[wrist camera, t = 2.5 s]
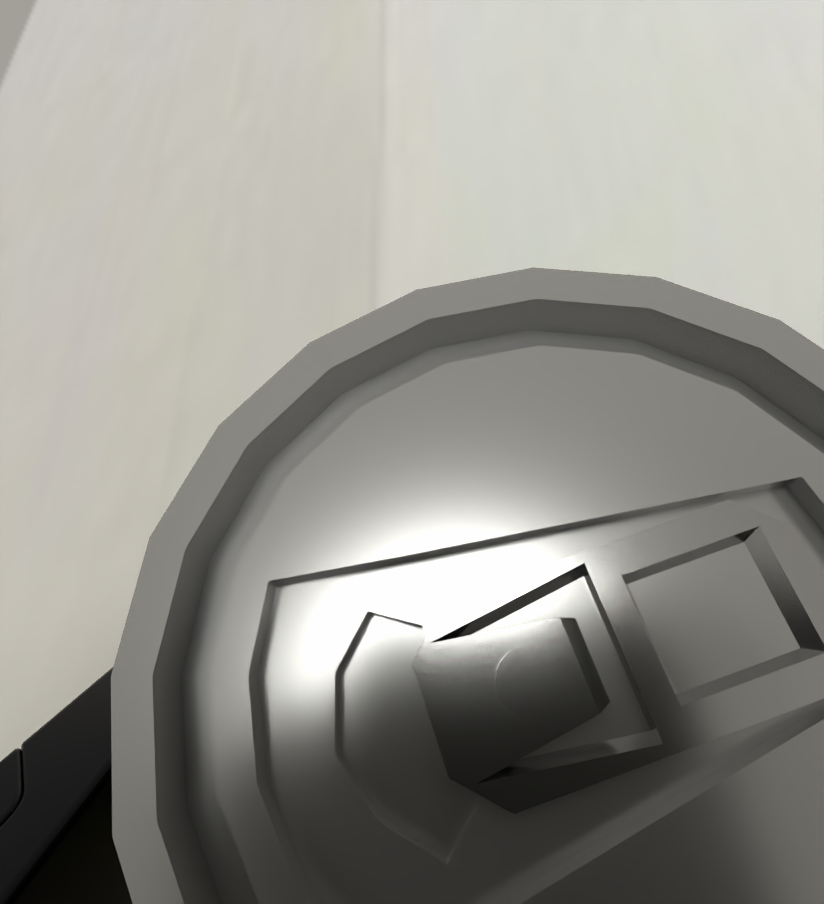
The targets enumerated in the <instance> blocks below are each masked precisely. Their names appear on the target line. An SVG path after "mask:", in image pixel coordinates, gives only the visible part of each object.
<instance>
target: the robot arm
mask: <svg viewBox="0 0 824 904" xmlns="http://www.w3.org/2000/svg"><path fill="white" fill-rule="evenodd" d="M112 671H113V668H111V669H110V670H109V671H108V672H107V673H105V674H104V675H103V676H102V677H101V678H100V679H98V680H97V681H96V682H95V683H94V684H92V685H91V686H90V687H89V688H88V689H86V690H85V691H84V692H83V693H82V694H81V695H79V696H78V697H77V698H76V699H75V700H73V701H72V702H71V703H70V704H69V705H67V706H66V707H65V708H64V709H63V710H61V711H60V712H59V713H58V714H57V715H56V716H54V717H53V718H52V719H51V720H50V721H48V722H47V723H46V724H45V725H44V726H42V727H41V728H40V729H39V730H38V731H37V732H35V733H34V734H33V735H32V736H31V737H29V738H28V739H27V740H26V741H25V742H24V743H23V744H22V746H21V749H22V750H21V749H15V750H14V751H12V752H11V753H10V754H9V755H8V756H7V757H5V758H4V759H3V760H2V761H1V762H0V904H133V903H132V900H131V897H130V893H129V890H128V887H127V883H126V880H125V877H124V874H123V870H122V867H121V864H120V861H119V857H118V854H117V851H116V847H115V844H114V841H113V838H112V751H111V674H112Z"/></svg>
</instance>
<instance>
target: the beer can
mask: <svg viewBox="0 0 824 904" xmlns="http://www.w3.org/2000/svg"><path fill="white" fill-rule="evenodd" d="M111 751H112V838H113V841H114V844H115V847H116V851H117V854H118V857H119V861H120V864H121V867H122V870H123V874H124V877H125V880H126V883H127V887H128V890H129V893H130V897H131V900H132V903H133V904H824V349H822V348H821V347H819V346H818V345H816V344H815V343H813V342H812V341H810V340H809V339H807V338H806V337H804V336H803V335H801V334H800V333H798V332H797V331H795V330H794V329H792V328H791V327H789V326H788V325H786V324H785V323H783V322H782V321H780V320H778V319H775V318H772V317H769V316H766V315H763V314H760V313H758V312H755V311H752V310H749V309H746V308H743V307H740V306H737V305H735V304H732V303H729V302H726V301H723V300H720V299H717V298H714V297H712V296H709V295H706V294H703V293H700V292H697V291H694V290H691V289H689V288H686V287H683V286H680V285H677V284H674V283H671V282H668V281H666V280H663V279H660V278H657V277H647V276H634V275H621V274H608V273H595V272H583V271H570V270H557V269H544V268H529V269H524V270H518V271H513V272H508V273H503V274H497V275H492V276H487V277H482V278H476V279H471V280H466V281H461V282H455V283H450V284H445V285H439V286H434V287H429V288H424V289H418V290H415V291H413V292H411V293H409V294H407V295H405V296H403V297H401V298H399V299H397V300H395V301H393V302H391V303H389V304H387V305H385V306H383V307H381V308H379V309H377V310H375V311H373V312H371V313H369V314H367V315H365V316H363V317H361V318H359V319H357V320H355V321H353V322H351V323H349V324H347V325H345V326H342V327H340V328H338V329H336V330H334V331H332V332H330V333H328V334H326V335H324V336H322V337H320V338H318V339H316V340H314V341H312V342H310V343H309V344H308V345H307V346H306V347H304V348H303V349H302V350H301V351H300V352H299V353H298V354H297V355H296V356H295V357H294V358H292V359H291V360H290V361H289V362H288V363H287V364H286V365H285V366H284V367H283V368H281V369H280V370H279V371H278V372H277V373H276V374H275V375H274V376H273V377H272V378H270V379H269V380H268V381H267V382H266V383H265V384H264V385H263V386H262V387H261V388H259V389H258V390H257V391H256V392H255V393H254V394H253V395H252V396H251V397H250V398H248V399H247V400H246V401H245V402H244V403H243V404H242V405H241V406H240V407H239V408H237V409H236V410H235V411H234V412H233V413H232V414H231V415H230V416H229V417H228V418H226V419H225V420H224V421H223V422H222V423H221V424H220V425H219V426H218V427H217V429H216V431H215V432H214V434H213V436H212V437H211V439H210V440H209V442H208V444H207V445H206V447H205V449H204V450H203V452H202V453H201V455H200V457H199V458H198V460H197V462H196V463H195V465H194V466H193V468H192V470H191V471H190V473H189V475H188V476H187V478H186V479H185V481H184V483H183V484H182V486H181V488H180V489H179V491H178V492H177V494H176V496H175V497H174V499H173V501H172V502H171V504H170V505H169V507H168V509H167V510H166V512H165V513H164V515H163V517H162V518H161V520H160V522H159V523H158V525H157V526H156V528H155V530H154V531H153V533H152V535H151V536H150V538H149V542H148V545H147V549H146V552H145V556H144V560H143V563H142V567H141V570H140V574H139V577H138V581H137V585H136V588H135V592H134V595H133V599H132V603H131V606H130V610H129V613H128V617H127V620H126V624H125V628H124V631H123V635H122V638H121V642H120V646H119V649H118V653H117V656H116V660H115V663H114V667H113V671H112V674H111Z"/></svg>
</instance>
